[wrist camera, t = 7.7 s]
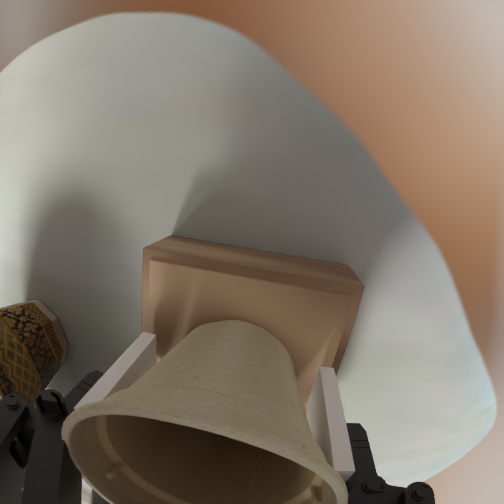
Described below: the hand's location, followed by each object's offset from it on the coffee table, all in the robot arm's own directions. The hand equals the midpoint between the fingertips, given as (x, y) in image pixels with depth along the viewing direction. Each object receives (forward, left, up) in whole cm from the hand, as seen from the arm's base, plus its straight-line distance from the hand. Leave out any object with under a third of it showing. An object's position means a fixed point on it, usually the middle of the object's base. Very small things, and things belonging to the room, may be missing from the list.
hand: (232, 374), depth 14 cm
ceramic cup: (-7, +18, -5) cm, 20 cm away
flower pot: (0, 0, -1) cm, 1 cm away
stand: (0, 0, -5) cm, 5 cm away
